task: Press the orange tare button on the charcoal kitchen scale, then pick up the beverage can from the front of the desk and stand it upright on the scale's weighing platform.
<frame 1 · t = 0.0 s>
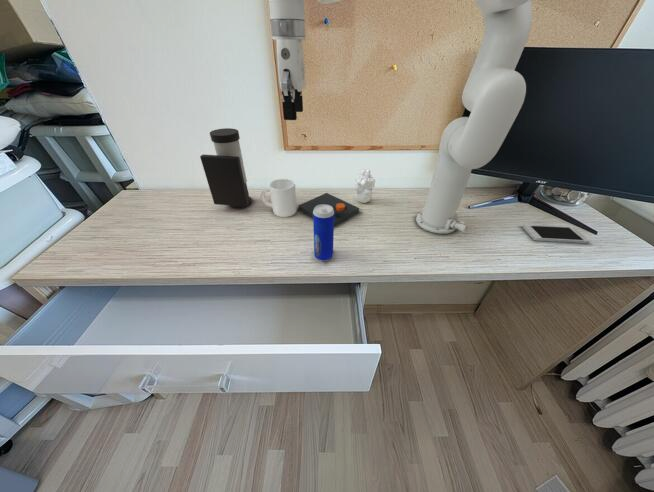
hand: (294, 115, 68), 31 cm above the table, tool pointing down, fingers open, 9 cm apart
tare button: (340, 207, 84), point 4 cm above the table, slide at 0.1 cm
beverage can: (323, 256, 71), on the table
scale: (328, 211, 90), on the table
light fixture: (239, 205, 93), on the table
smartphone: (553, 235, 80), on the table
mug: (280, 211, 90), on the table
figurine: (362, 202, 96), on the table
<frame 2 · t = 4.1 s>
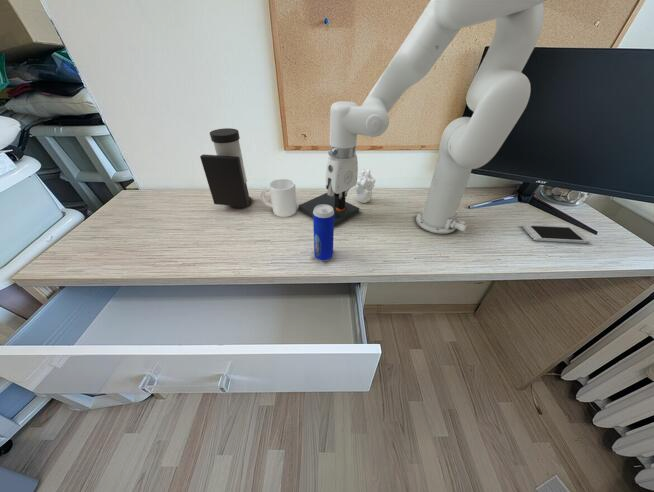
hand: (339, 207, 85), 4 cm above the table, tool pointing down, fingers closed
tare button: (340, 209, 85), point 3 cm above the table, slide at -0.7 cm, touching gripper
everything else where it was.
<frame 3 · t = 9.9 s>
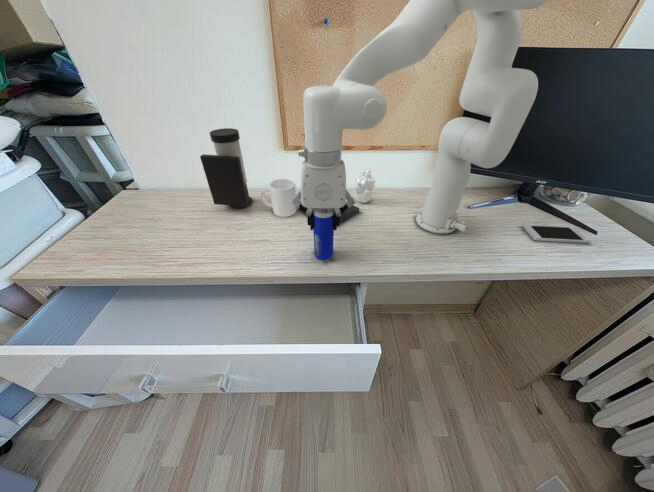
hand: (323, 226, 65), 10 cm above the table, tool pointing down, fingers closed on beverage can, 5 cm apart
tare button: (340, 207, 85), point 4 cm above the table, slide at 0.1 cm
beverage can: (323, 256, 71), on the table, touching gripper
everything else where it was.
when the fingers open (12 cm above the table, at t = 18.4 s): beverage can stays where it is, resting on scale.
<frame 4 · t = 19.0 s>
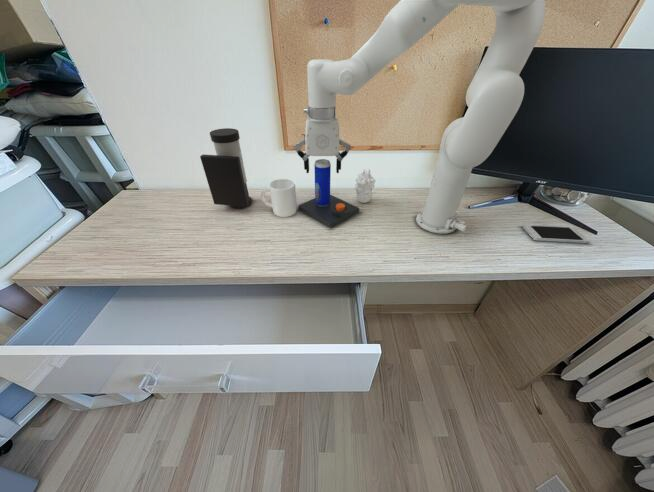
hand: (322, 171, 83), 14 cm above the table, tool pointing down, fingers open, 9 cm apart
beverage can: (322, 204, 91), point 2 cm above the table, touching scale
everything else where it was.
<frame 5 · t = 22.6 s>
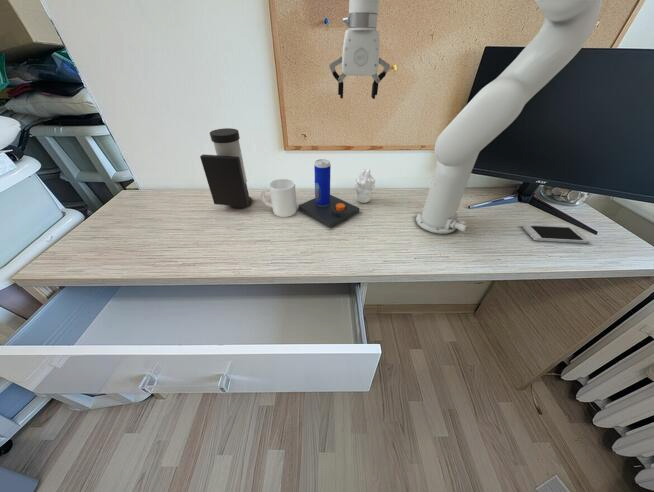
hand: (357, 97, 78), 33 cm above the table, tool pointing down, fingers open, 9 cm apart
nothing on the table moved.
at the end: tare button pushed in 0.9 cm at the most during the clip, back to where it started at the end; beverage can inside the target area on the scale (0.4 cm from its centre), point 1.7 cm above the scale's base; beverage can tilted 0° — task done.
